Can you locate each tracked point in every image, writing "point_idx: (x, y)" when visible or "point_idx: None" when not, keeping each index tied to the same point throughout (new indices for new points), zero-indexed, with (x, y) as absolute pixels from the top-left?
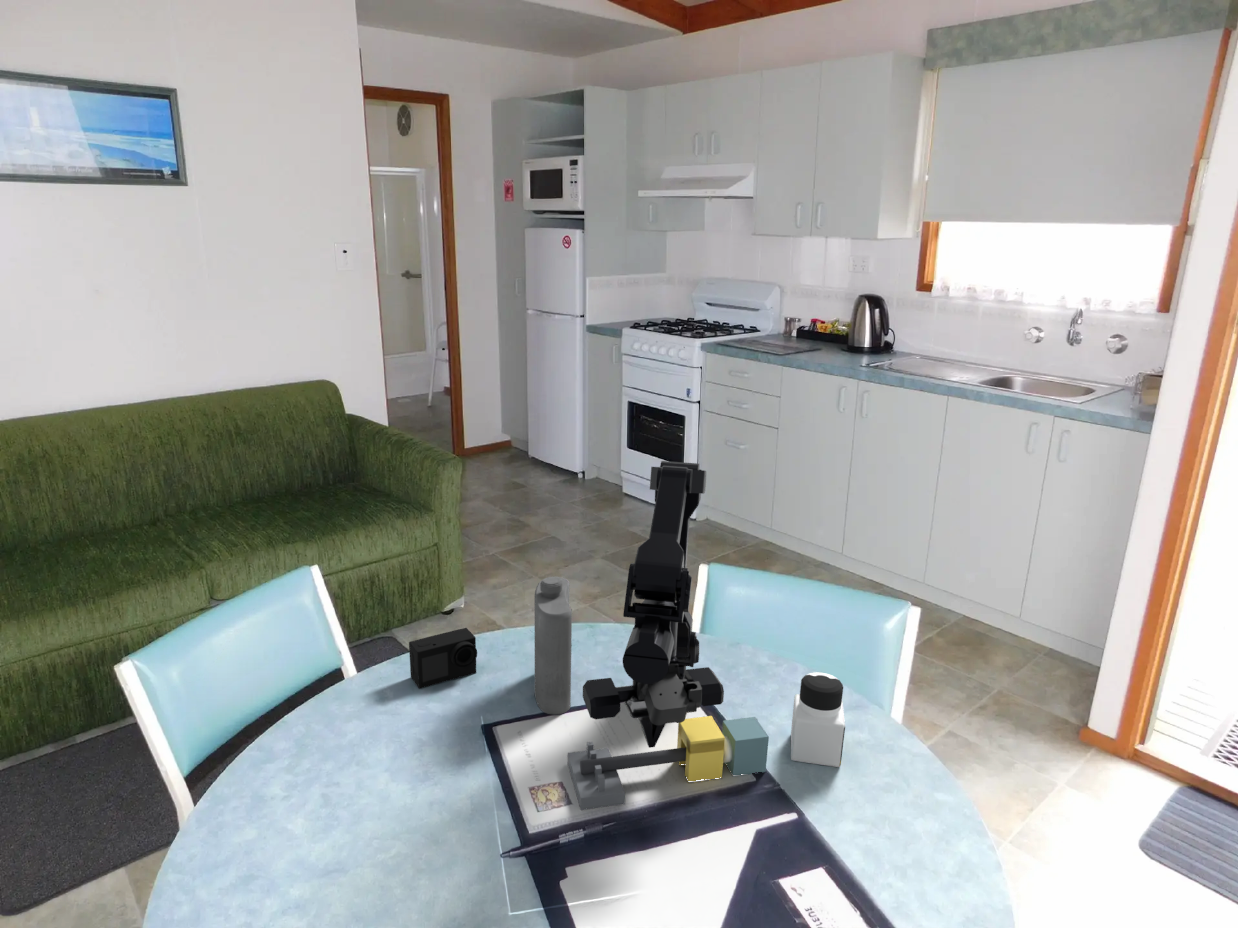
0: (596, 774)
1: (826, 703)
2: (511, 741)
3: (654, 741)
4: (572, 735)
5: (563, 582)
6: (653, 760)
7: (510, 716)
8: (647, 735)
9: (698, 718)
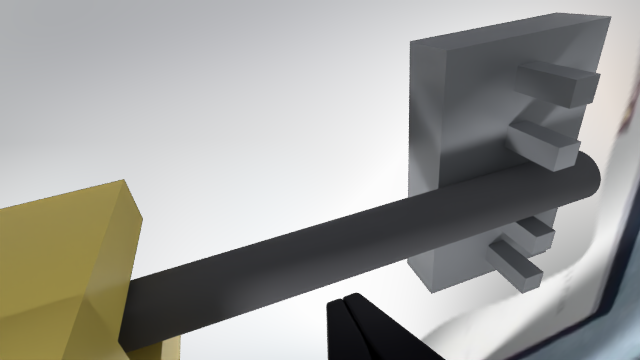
0: (552, 132)
1: None
2: (585, 280)
3: (347, 330)
4: (465, 325)
5: None
6: (306, 242)
7: (555, 345)
8: (427, 357)
9: None
